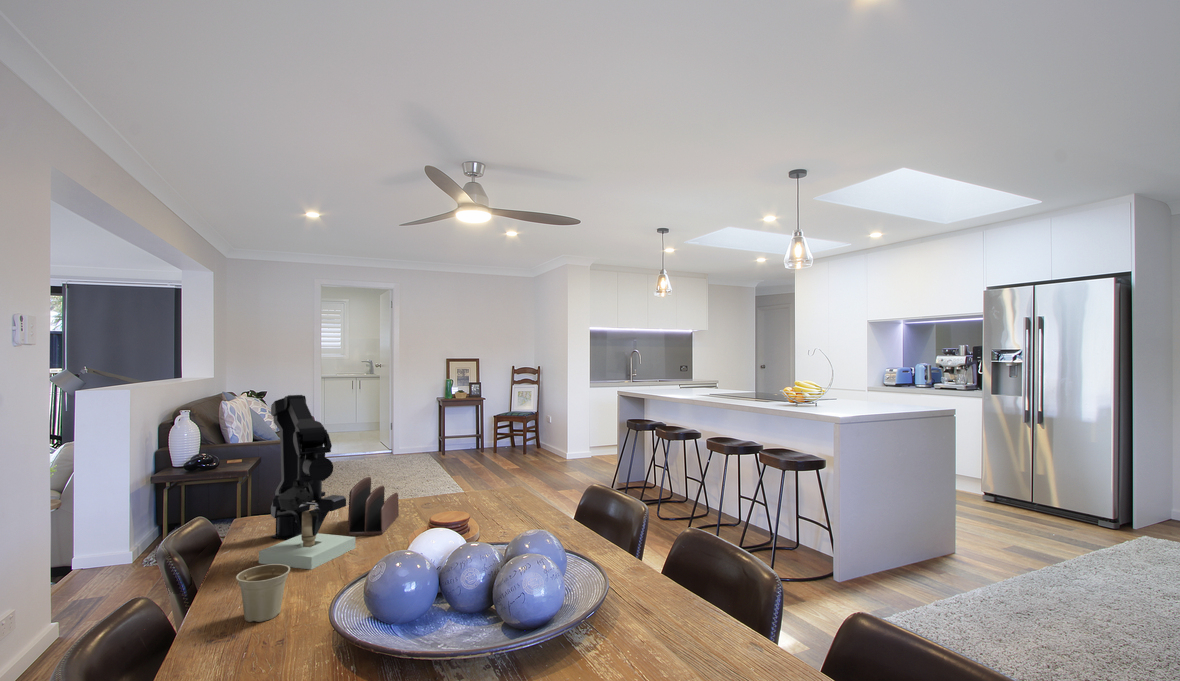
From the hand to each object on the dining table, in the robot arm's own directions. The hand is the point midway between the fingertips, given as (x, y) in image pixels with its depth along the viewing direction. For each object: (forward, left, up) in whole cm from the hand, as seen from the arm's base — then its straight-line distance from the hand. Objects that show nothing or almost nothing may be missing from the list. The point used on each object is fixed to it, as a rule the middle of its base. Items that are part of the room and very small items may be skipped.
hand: (309, 534), depth 147 cm
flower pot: (+17, -31, -6) cm, 36 cm away
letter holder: (0, +27, -6) cm, 28 cm away
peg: (0, 0, -3) cm, 3 cm away
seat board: (0, 0, -6) cm, 6 cm away
